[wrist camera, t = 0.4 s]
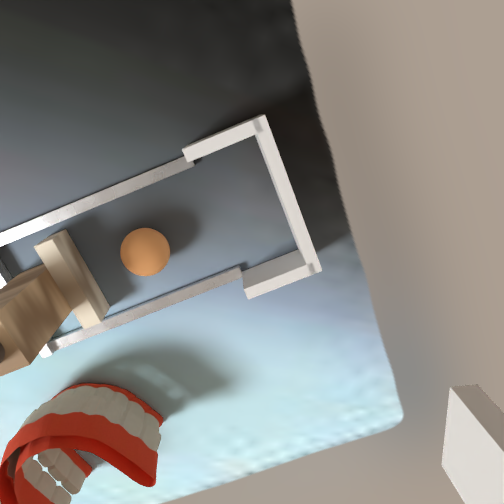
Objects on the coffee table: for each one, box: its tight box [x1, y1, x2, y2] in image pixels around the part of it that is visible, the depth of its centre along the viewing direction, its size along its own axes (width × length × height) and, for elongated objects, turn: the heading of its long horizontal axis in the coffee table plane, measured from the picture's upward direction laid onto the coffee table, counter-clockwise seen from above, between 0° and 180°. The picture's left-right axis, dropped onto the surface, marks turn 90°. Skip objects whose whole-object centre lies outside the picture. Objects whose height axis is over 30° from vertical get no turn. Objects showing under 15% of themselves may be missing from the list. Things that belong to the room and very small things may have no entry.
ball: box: [120, 228, 170, 276], centre depth 35 cm, size 4×4×4 cm
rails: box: [0, 156, 242, 358], centre depth 36 cm, size 12×20×1 cm, turn 112°
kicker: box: [0, 229, 110, 376], centre depth 31 cm, size 8×6×12 cm
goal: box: [182, 114, 322, 299], centre depth 34 cm, size 13×6×4 cm, turn 22°
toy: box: [0, 383, 163, 504], centre depth 38 cm, size 12×10×8 cm
